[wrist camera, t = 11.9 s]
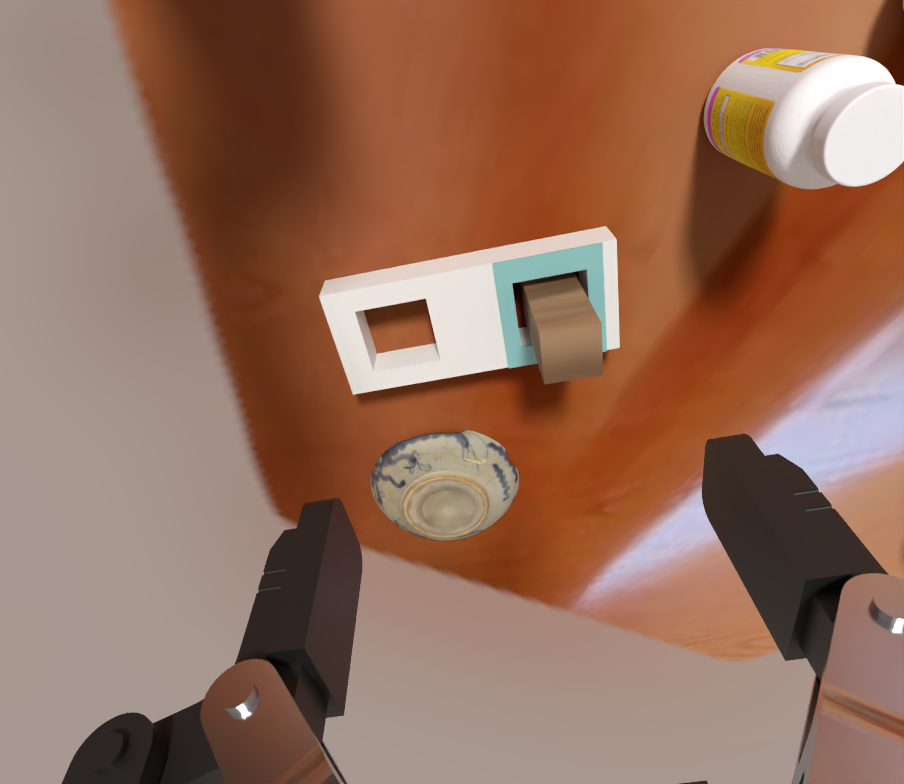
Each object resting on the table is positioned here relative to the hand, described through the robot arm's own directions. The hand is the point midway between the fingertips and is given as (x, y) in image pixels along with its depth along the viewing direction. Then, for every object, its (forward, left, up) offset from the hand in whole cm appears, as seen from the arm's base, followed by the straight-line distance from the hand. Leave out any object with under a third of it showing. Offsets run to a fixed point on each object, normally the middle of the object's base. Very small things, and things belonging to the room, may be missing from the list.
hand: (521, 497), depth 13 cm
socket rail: (+11, -1, -33) cm, 35 cm away
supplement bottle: (0, +20, -33) cm, 39 cm away
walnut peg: (+11, +5, -33) cm, 35 cm away
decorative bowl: (+30, -7, -34) cm, 46 cm away
